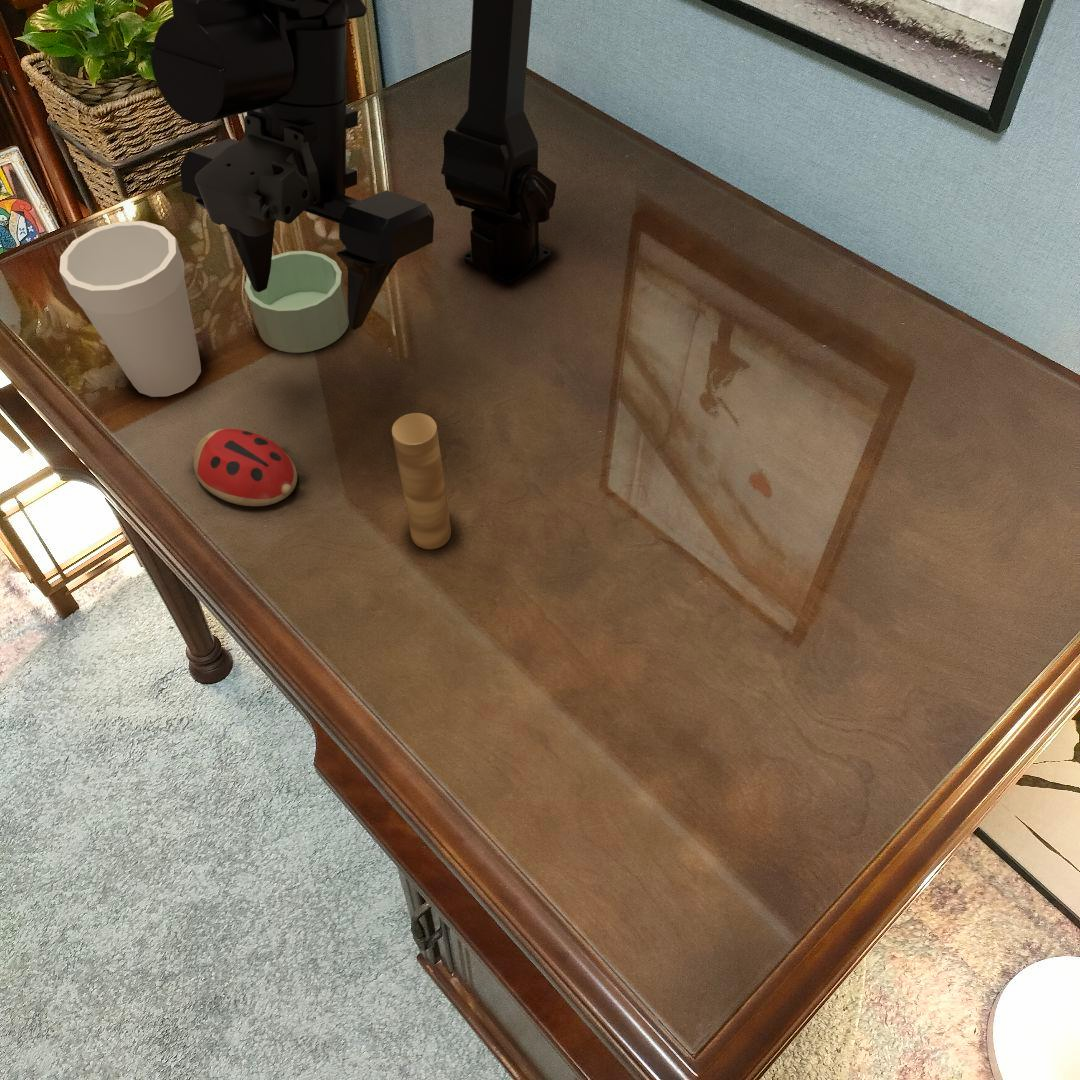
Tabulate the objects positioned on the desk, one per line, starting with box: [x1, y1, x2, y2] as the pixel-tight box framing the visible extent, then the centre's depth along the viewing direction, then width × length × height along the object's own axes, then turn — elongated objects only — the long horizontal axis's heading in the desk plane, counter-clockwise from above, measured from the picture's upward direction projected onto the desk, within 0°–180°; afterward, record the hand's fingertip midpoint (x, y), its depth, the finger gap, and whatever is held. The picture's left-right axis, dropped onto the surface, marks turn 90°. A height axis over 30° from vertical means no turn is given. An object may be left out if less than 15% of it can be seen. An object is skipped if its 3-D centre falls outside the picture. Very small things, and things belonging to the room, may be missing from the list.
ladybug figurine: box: [193, 428, 298, 507], centre depth 84 cm, size 7×10×4 cm
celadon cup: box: [244, 250, 349, 354], centre depth 96 cm, size 9×9×5 cm
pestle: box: [391, 412, 452, 550], centre depth 77 cm, size 3×3×12 cm
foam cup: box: [59, 220, 202, 398], centre depth 89 cm, size 10×9×13 cm
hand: (307, 308), depth 78 cm, fingers open, 9 cm apart
